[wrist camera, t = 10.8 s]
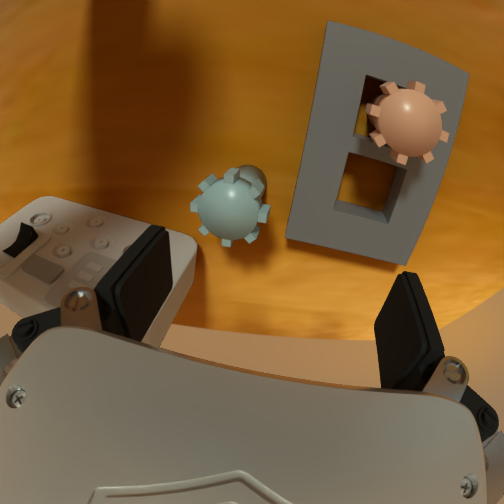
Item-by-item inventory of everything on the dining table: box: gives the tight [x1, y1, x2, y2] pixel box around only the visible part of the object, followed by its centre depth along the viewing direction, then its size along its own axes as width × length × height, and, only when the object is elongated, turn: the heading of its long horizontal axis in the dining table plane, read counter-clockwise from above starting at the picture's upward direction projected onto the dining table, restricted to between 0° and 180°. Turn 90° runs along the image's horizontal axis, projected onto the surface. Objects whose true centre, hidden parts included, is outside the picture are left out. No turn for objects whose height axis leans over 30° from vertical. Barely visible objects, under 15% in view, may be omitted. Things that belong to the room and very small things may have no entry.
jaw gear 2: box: [365, 81, 449, 165], centre depth 20 cm, size 7×7×8 cm
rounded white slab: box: [0, 196, 198, 347], centre depth 30 cm, size 29×8×18 cm, turn 78°
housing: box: [285, 21, 469, 266], centre depth 25 cm, size 22×14×3 cm, turn 172°
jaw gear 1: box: [190, 165, 271, 247], centre depth 27 cm, size 7×7×8 cm
